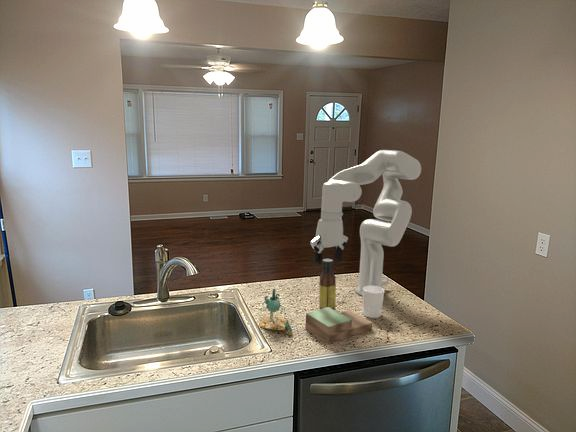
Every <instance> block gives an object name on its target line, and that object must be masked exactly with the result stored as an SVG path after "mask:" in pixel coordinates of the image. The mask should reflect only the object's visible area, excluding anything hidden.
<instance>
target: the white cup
mask: <svg viewBox="0 0 576 432" xmlns="http://www.w3.org/2000/svg"><path fill="white" fill-rule="evenodd" d="M384 290H385V289H384V288H381V287H378V286H365V287H363V295H362V314H363V316H364V317H367V318H370V319H378V318H379V317H381V316H382V310H383V309H382V308H383V304H384V296H385V293H384Z"/></svg>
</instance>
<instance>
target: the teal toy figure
mask: <svg viewBox="0 0 576 432" xmlns="http://www.w3.org/2000/svg"><path fill="white" fill-rule="evenodd" d="M276 290H277V289H276V288H273V289H272V296H271V297H269V296H268V295H266V296H265V297H264V302H262V303H261V304H262V307H263V309H262V308H260V309H259V310H260V312H262V311H263V312H265V311H266V310H268V311H269V312H270V313H269V316H268V315H264V316H261V317H260V319H259V326H260V327H261V328H264V329H267V330H275V331H282V333H284V334H286V335H289V336H294V332H293V330H292V327H291V324H290V321H288V320H289V319H285V318H284V317H283V318H282V317H281V316H274V315H273V314H274V313H276V312H279V310H280V308H281V309H282V310H281V312H280V315H282V314H283V310H284V312H286V309H285V306H284V305H281V301H280V297H281V295H280V293H276V292H277V291H276ZM264 303H265V304H266V306H264ZM284 315H285V316H286V315H287V314H286V313H284Z"/></svg>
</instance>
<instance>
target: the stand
mask: <svg viewBox="0 0 576 432" xmlns="http://www.w3.org/2000/svg"><path fill="white" fill-rule="evenodd" d="M373 323H374V322H373V321H371V320H368V319H366V318H365V317H364V316H361V315H360V314H357V313H355V312H353V311H351V310H345V311H342V312H338V311H337V310H336V309H335V310H333V309H331V308H330V307H327V308H323V309H320V308H319V309H316V310H313V311H308V312H306V313H305V326H304V327H305V331H307V332H309V333H310V334H312V335H314V336H315V337H316V338H318V339H320V340H321V341H323V342H324V343H326V344H327V345H328V344H332V343H335V342H338V341H341V340H344V339H347V338H350V337H353V336H356V335H359V334H363V333H365V332H368V331H371V330H373Z"/></svg>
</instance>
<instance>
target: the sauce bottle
mask: <svg viewBox="0 0 576 432" xmlns="http://www.w3.org/2000/svg"><path fill="white" fill-rule="evenodd" d="M321 264H322V272H321V274H320V275H319V283H318V284H319V287H318V288H319V289H318V291H319V292H318V294H319V296H318V297H319V298H318V299H319V300H318V304H319V305H318V306H319V309H323V308H327V307H330V308H331V309H333V310H335V311H336V299H337V297H336V296H337V293H336V292H337V291H336V289H337V288H336V287H337V286H336V285H337V283H336V280H337V278H336V275H335V272H334V269H333V265H334V260H333V259H331V258H322V263H321Z"/></svg>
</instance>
